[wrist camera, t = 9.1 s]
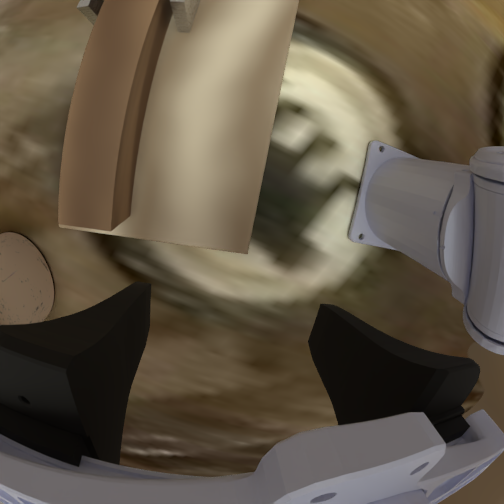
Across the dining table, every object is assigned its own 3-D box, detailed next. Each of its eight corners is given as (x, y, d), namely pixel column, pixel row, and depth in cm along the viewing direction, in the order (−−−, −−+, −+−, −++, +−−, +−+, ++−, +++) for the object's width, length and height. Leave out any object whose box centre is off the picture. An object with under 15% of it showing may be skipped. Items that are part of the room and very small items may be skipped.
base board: (303, -30, 13) (306, -36, 13) (245, 249, 21) (247, 254, 20) (136, -47, 11) (134, -53, 10) (65, 223, 18) (59, 227, 17)
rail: (181, -11, 13) (177, -41, 9) (130, 216, 18) (110, 231, 14) (136, -11, 12) (123, -38, 8) (85, 210, 17) (58, 224, 13)
